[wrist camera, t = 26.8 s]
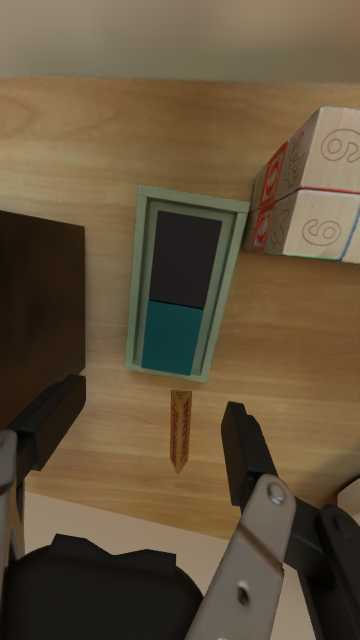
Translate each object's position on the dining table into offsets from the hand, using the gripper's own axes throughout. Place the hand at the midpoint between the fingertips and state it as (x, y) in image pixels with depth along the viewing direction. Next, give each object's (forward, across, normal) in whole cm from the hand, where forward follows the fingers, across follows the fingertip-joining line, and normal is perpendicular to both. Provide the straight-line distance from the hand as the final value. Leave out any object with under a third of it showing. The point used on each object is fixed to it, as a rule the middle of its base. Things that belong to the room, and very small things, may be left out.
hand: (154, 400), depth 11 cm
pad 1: (+11, 0, -7) cm, 13 cm away
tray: (+12, 0, -3) cm, 12 cm away
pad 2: (+11, 0, 0) cm, 11 cm away
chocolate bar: (+12, -3, +15) cm, 19 cm away
